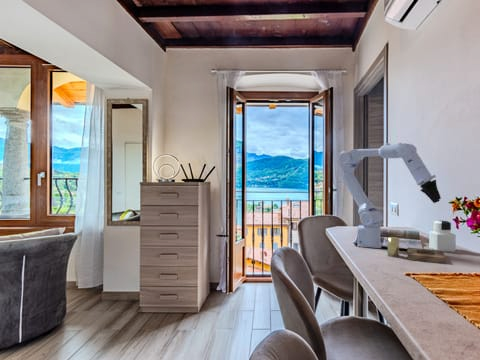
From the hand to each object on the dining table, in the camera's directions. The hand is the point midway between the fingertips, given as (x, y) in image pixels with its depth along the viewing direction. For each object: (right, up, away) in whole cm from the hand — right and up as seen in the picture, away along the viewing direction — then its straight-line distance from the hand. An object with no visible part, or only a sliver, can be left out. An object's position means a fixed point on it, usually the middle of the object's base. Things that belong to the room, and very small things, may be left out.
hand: (437, 201), depth 123 cm
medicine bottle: (+9, -21, +12) cm, 26 cm away
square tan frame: (-4, -22, 0) cm, 22 cm away
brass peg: (-15, -22, +3) cm, 27 cm away
